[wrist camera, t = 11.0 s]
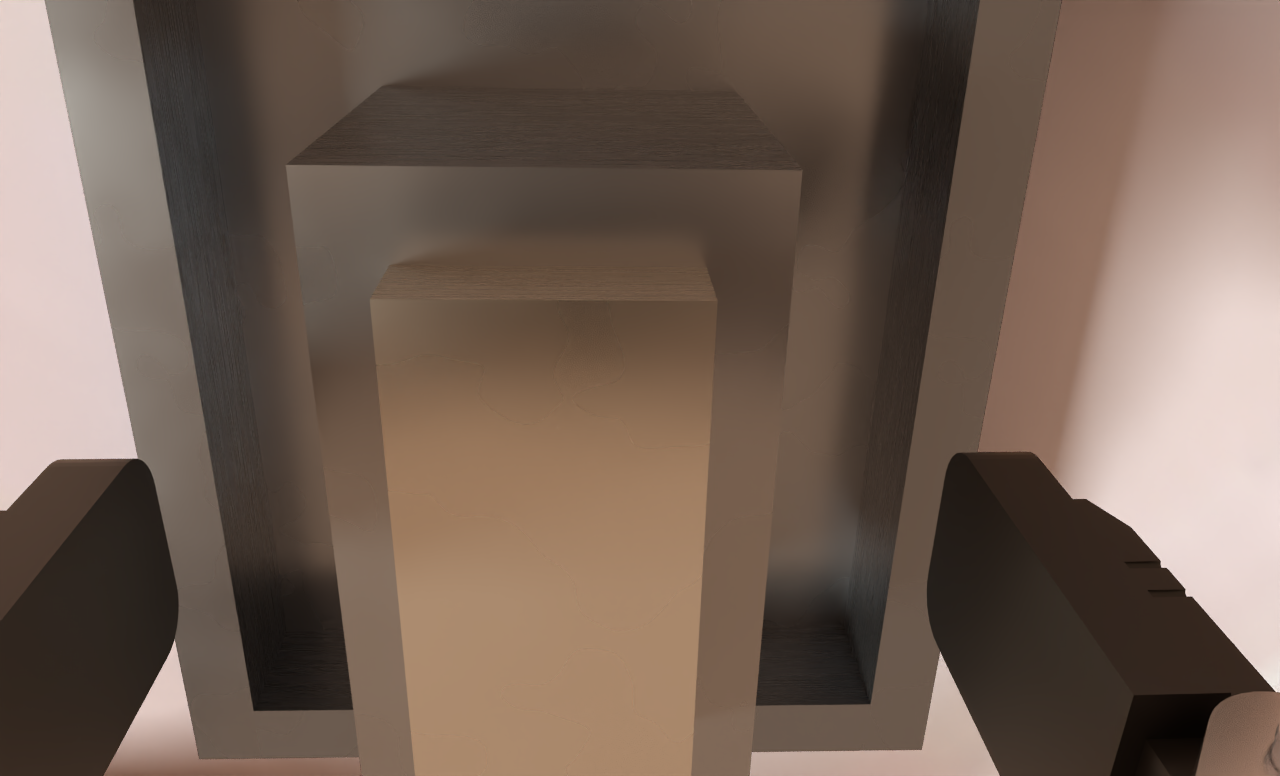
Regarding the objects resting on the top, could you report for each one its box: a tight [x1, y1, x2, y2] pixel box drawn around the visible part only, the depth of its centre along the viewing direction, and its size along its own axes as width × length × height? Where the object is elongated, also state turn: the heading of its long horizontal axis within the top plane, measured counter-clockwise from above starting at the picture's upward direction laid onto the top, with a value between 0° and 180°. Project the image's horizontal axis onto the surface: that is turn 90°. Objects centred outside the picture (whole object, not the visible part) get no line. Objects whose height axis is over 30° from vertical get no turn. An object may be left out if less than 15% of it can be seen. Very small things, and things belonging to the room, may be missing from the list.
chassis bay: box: [45, 0, 1062, 759], centre depth 15 cm, size 16×12×3 cm
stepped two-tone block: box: [286, 86, 803, 776], centre depth 13 cm, size 8×5×6 cm, turn 179°
